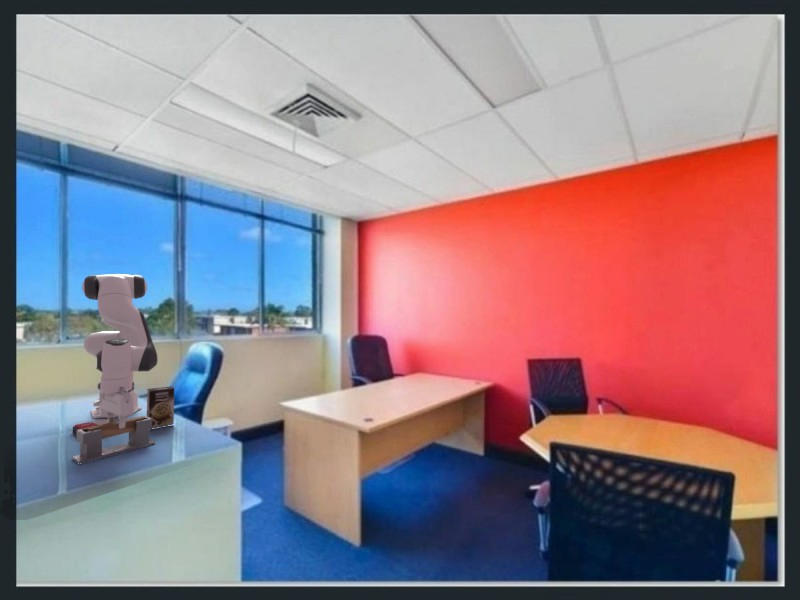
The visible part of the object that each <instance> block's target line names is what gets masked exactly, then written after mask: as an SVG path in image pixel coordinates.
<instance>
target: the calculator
mask: <svg viewBox="0 0 800 600" xmlns="http://www.w3.org/2000/svg"><path fill="white" fill-rule="evenodd" d="M107 423H108V419H106V418H104V419H99V420H98V419H97V420H94V421H90V422H88V421H87V422H83V423H78V424H74V426H72V434H73V433H74V434H75V435H74V434H73V435H74V436H76V435H77V430H79V429H84V428H87V427H92V426H97V425H102V424H107Z"/></svg>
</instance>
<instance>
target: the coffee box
mask: <svg viewBox="0 0 800 600" xmlns="http://www.w3.org/2000/svg"><path fill="white" fill-rule="evenodd" d="M146 390H147V392H146V393H147V397H146V416H147V417H149V418H152V428H157V427H163V426H168V425H172V424H175V423H174V420H175V414H174V413H175V388H174V387H173V386H161V387H154V388H153V387H151V388H147V389H146ZM152 428H151V429H152Z"/></svg>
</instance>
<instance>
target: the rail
mask: <svg viewBox="0 0 800 600" xmlns="http://www.w3.org/2000/svg"><path fill="white" fill-rule="evenodd" d="M141 420H144V418H143V417H141V416H140V415H139V416H137V417H131V418H130V417H129V418H127V420H126V422H125V428H121V429H120V428H118V423H119V420H117V421H116V420H115V422H111V423H107V424H102V425H97V426H92V427H87V428H86V432H90V431H95V430H99V429H102V439H105V438H106V439H107V438H110V437H114V436H119V435H124V434H127V433H128V434H129V432H132V431H135V422H136V421H141Z"/></svg>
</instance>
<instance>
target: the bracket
mask: <svg viewBox="0 0 800 600" xmlns="http://www.w3.org/2000/svg"><path fill="white" fill-rule="evenodd" d="M141 417H143V418H144V420H141V421H136V422H135V431H132V432H128V442H124V443H120V444H116V445H112V446H108V447H104V448H103V438H102V429H99V430H95V431H90V432H86V428H84V429H79V430H77V436H76V441H77V442H78V443H80V446H79V454H76V455H73V456H71V457H72V458H71V460H72V459H73V460H72V461H74V460H75V461H76V462H77V463H79V464H78V465H81V464H80V463H83V464H85V463H84V462H87V463H89V462H88V461H91V460H94V461H96V460H95V459H98V460H100V459H99V458H102V459H105V458H109V457H112V455H113V456H116V455H120V454H123V452H124V453H127V452H126V451H128V452H131V451H134V449H135V450H139V449H141V448H146V447H148V445H150V446H152V445H151V444H154V445H156V441H155V440H154V439H152V438H150V430H149V429H151V428H152V418H149V417H147V415H142V416H141ZM145 446H146V447H145ZM138 448H139V449H138ZM130 450H131V451H130ZM119 453H120V454H119ZM108 456H109V457H108ZM104 457H105V458H104ZM75 461H74V462H75ZM76 462H75V463H76ZM91 462H92V461H91ZM77 463H76V464H77Z"/></svg>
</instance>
